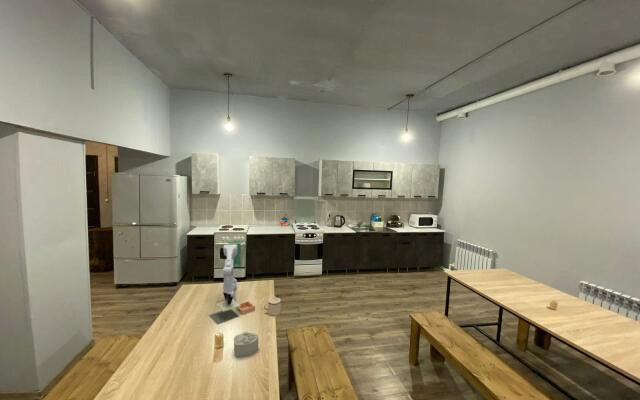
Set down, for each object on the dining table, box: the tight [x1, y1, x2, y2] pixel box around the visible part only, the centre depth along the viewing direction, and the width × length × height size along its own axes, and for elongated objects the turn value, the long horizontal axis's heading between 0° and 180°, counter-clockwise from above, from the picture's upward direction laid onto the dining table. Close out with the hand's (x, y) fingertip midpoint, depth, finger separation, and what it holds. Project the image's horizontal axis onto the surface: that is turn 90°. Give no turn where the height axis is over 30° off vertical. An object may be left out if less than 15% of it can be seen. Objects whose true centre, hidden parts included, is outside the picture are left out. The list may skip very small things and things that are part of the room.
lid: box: [216, 298, 240, 312], centre depth 187 cm, size 12×12×5 cm
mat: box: [208, 309, 240, 325], centre depth 186 cm, size 15×15×1 cm
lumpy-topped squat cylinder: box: [233, 331, 259, 358], centre depth 151 cm, size 10×13×9 cm
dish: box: [235, 300, 256, 316], centre depth 194 cm, size 10×10×4 cm
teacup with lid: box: [263, 296, 282, 316], centre depth 192 cm, size 12×9×12 cm
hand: (228, 302), depth 187 cm, fingers closed on lid, 3 cm apart
